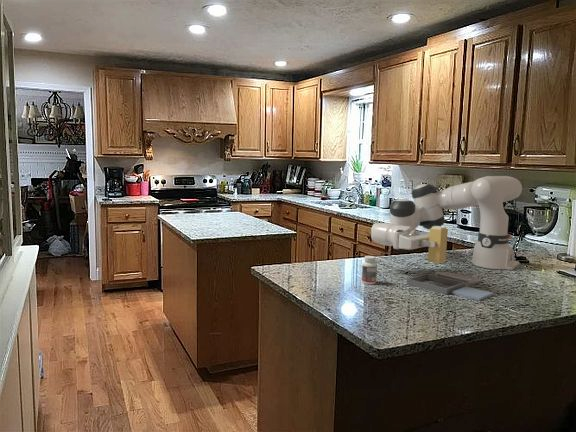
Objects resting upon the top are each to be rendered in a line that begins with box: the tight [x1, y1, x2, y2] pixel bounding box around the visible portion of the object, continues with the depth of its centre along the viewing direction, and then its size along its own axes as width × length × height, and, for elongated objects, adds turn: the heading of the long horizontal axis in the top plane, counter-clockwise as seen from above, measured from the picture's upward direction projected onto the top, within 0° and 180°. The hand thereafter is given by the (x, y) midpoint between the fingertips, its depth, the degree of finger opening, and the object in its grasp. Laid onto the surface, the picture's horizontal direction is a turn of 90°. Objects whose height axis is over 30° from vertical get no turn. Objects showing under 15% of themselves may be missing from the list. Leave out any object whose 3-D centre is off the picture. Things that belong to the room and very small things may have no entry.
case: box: [406, 270, 483, 295], centre depth 177 cm, size 26×16×2 cm, turn 132°
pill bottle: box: [361, 255, 378, 285], centre depth 175 cm, size 5×5×10 cm
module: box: [427, 225, 449, 264], centre depth 171 cm, size 4×4×13 cm
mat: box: [450, 286, 494, 302], centre depth 164 cm, size 10×10×1 cm
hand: (440, 243), depth 171 cm, fingers closed on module, 4 cm apart
